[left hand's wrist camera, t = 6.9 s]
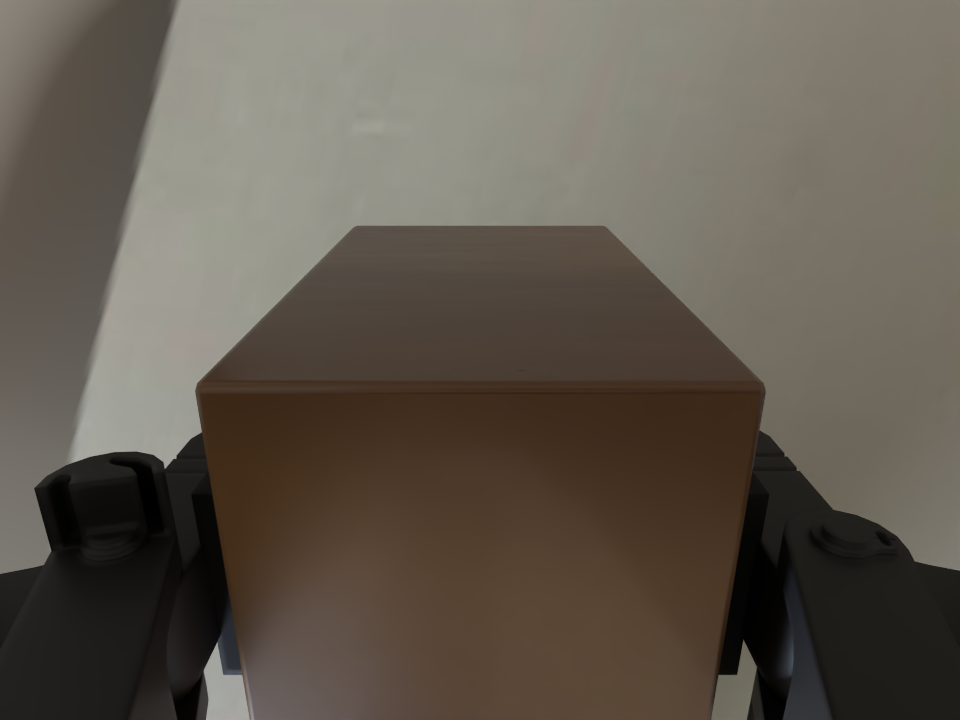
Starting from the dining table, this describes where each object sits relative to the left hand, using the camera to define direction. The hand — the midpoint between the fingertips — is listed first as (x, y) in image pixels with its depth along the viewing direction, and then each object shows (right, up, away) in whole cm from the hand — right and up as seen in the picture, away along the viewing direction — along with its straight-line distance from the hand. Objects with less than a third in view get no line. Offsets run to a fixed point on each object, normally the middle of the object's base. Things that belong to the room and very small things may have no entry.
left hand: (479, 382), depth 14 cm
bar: (0, -8, +4) cm, 9 cm away
